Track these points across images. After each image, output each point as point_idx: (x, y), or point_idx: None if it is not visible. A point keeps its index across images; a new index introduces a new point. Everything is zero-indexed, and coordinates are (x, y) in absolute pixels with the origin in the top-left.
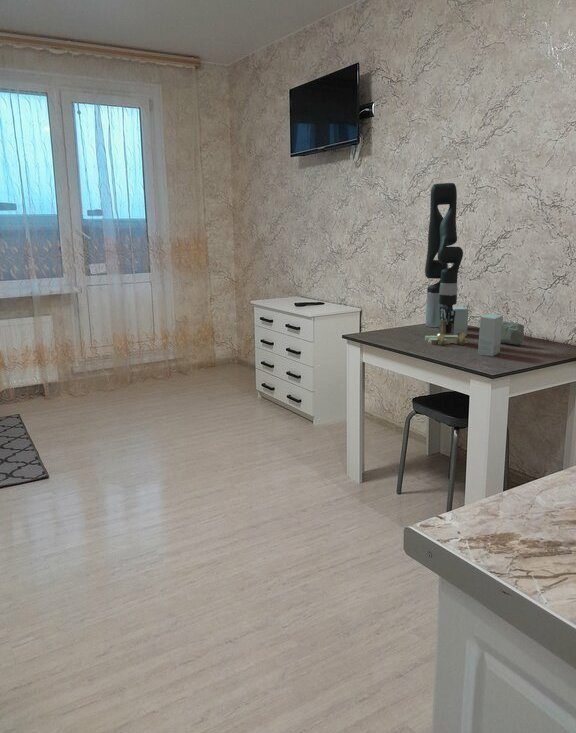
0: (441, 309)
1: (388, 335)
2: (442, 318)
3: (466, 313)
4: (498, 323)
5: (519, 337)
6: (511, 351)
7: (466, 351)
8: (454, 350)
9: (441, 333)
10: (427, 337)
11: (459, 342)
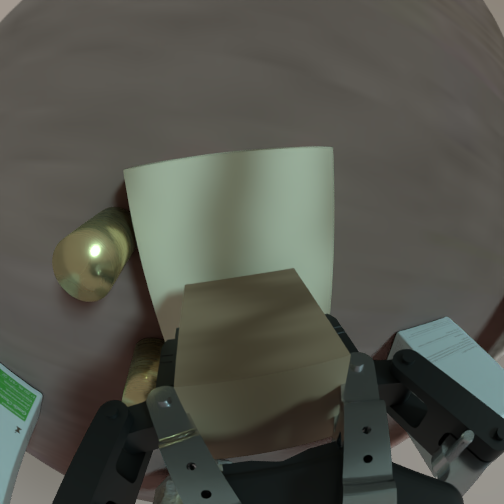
0: (472, 443)
1: (438, 4)
2: (344, 397)
3: (428, 458)
4: None
5: (155, 496)
6: (79, 444)
7: (8, 331)
8: (4, 285)
9: (91, 275)
10: (260, 150)
11: (134, 354)
